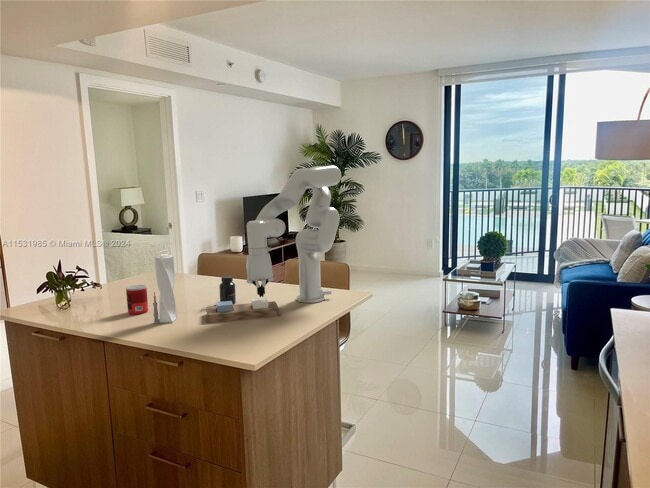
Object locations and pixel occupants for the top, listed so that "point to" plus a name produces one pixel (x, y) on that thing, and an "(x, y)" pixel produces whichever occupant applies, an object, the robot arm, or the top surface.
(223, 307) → the light blue square block
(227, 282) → the supplement bottle
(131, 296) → the canned food
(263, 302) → the white square block
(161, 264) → the skyscraper
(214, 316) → the wooden board
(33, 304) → the top surface
